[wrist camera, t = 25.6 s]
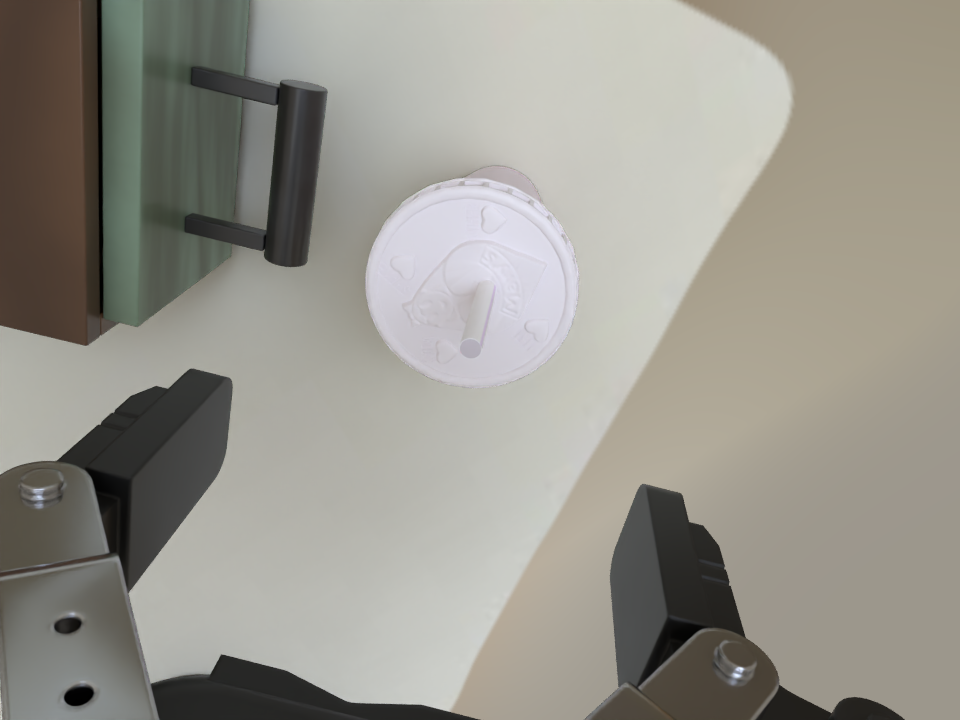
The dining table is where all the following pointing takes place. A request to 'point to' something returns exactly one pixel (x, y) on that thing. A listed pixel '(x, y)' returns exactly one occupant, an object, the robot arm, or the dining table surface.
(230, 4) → the drawer
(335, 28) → the dining table surface
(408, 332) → the smoothie
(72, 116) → the cabinet
